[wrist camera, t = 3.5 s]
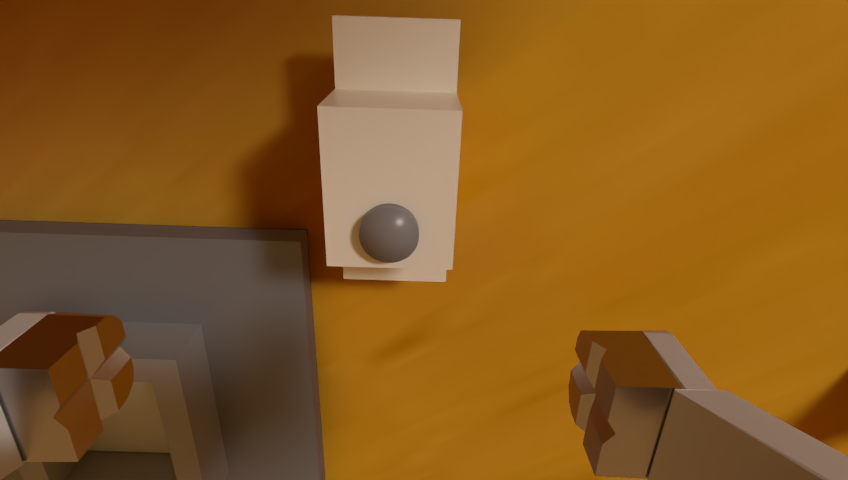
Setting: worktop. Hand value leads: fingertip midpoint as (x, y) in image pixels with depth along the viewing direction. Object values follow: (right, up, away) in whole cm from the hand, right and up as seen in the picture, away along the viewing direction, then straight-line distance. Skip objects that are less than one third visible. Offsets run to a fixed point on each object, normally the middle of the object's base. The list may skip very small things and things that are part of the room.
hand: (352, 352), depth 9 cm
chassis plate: (-13, -5, +17) cm, 22 cm away
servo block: (0, +6, +11) cm, 13 cm away
